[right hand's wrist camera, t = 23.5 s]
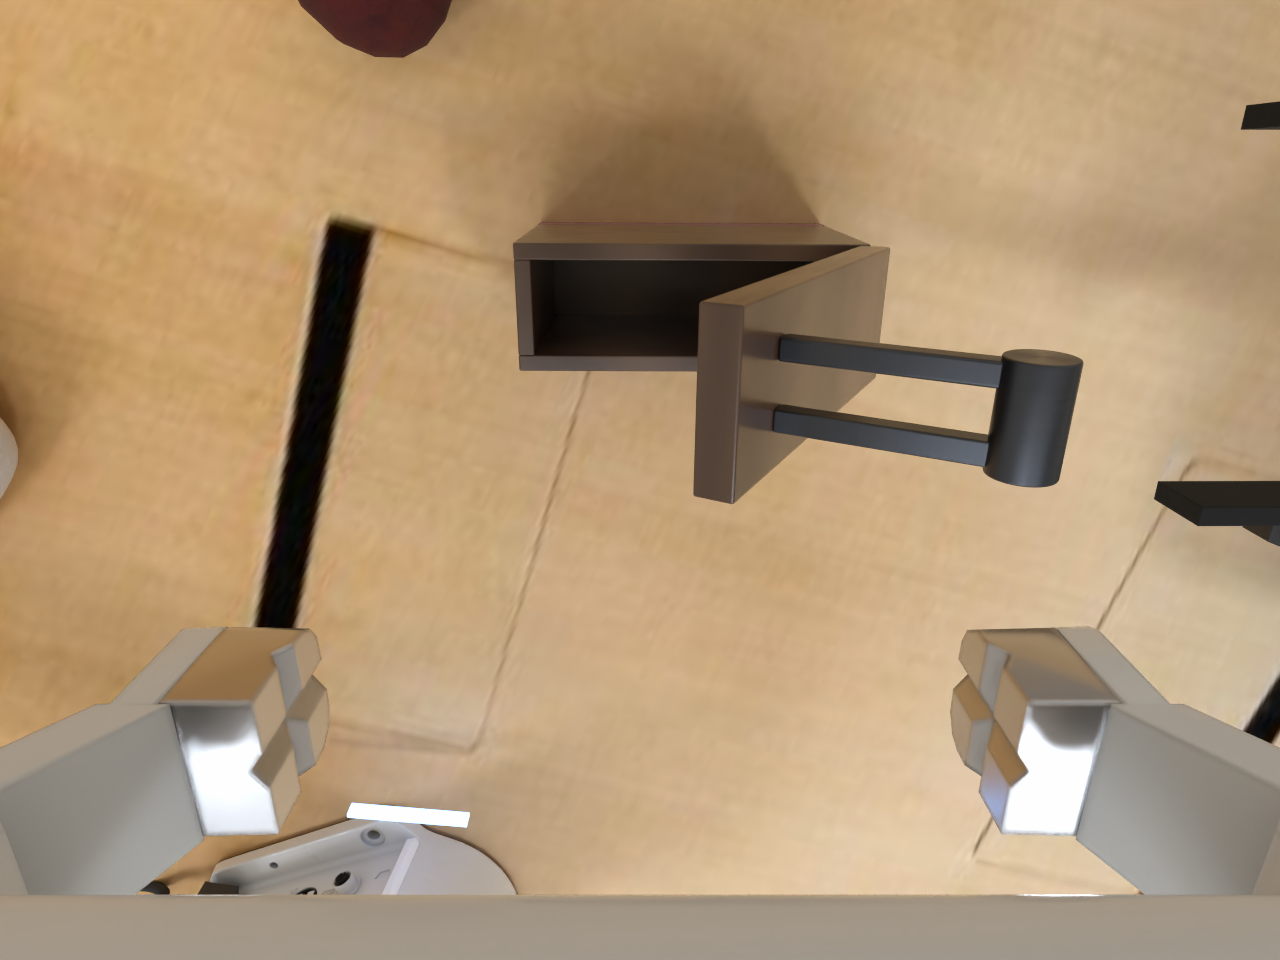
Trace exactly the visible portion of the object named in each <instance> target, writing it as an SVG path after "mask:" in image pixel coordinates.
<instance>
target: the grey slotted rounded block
mask: <svg viewBox="0 0 1280 960" xmlns="http://www.w3.org/2000/svg"><path fill="white" fill-rule="evenodd" d="M17 463H18V447H17V444H16V441H15V438H14V436H13V434H12V432H11V431H10V429H9V428H8V427H7V425H6V424H5V423H4V421H3V420H2V419H1V418H0V499H1V497H2V496H3V494H4V493H5V491H6V489H7V487H8V486H9V484H10V482H11V480H12V478H13V475H14V473H15V471H16V468H17Z"/></svg>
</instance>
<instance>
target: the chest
mask: <svg viewBox="0 0 1280 960" xmlns="http://www.w3.org/2000/svg"><path fill="white" fill-rule="evenodd" d="M859 246H870V245H869V244H867V243H864V242H862V241H859V240H857V239H855V238H852V237H850V236H847V235H845V234H842V233H840V232H837V231H835V230H832V229H830V228H828V227H825V226H824V225H822V224H731V223H540V224H539V225H538V226H536V227H535V228H534V229H532V230H531V231H530V232H528V233H527V234H525V235H524V236H523V237H521V238H520V239H519V240H517V241H516V242H514V243H513V251H514V270H515V290H516V309H517V329H518V348H519V368H520V370H521V371H697V364H698V332H699V304H700V302H701V301H704V300H707V299H710V298H713V297H716V296H718V295H721V294H724V293H727V292H730V291H733V290H736V289H739V288H741V287H744V286H747V285H750V284H753V283H756V282H759V281H762V280H764V279H767V278H770V277H773V276H776V275H779V274H782V273H785V272H788V271H790V270H793V269H796V268H799V267H802V266H805V265H808V264H811V263H813V262H816V261H819V260H822V259H825V258H828V257H831V256H834V255H836V254H839V253H842V252H845V251H848V250H851V249H854V248H857V247H859Z"/></svg>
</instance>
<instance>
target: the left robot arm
mask: <svg viewBox="0 0 1280 960" xmlns="http://www.w3.org/2000/svg"><path fill="white" fill-rule="evenodd" d="M1241 129H1252V130H1280V102H1272V103H1263V104H1255V105H1246V110H1245V114H1244V118H1243V122H1242V127H1241ZM1154 499H1155V500H1156V501H1158V502H1160V503H1161V504H1163V505H1165V506H1166V507H1168V508H1169V509H1171V510H1173V511H1174V512H1176V513H1178V514H1179V515H1181V516H1182V517H1184V518H1186V519H1187V520H1189V521H1191V522H1192V523H1194V524H1195V525H1197V526H1243V527H1244V528H1245V529H1247V530H1249V531H1251V532H1252V533H1254V534H1256V535H1258V536H1259V537H1261V538H1263V539H1265V540H1266V541H1268V542H1270V543H1273V544H1275V545H1278V546H1280V481H1158V484H1157V489H1156V493H1155V497H1154Z"/></svg>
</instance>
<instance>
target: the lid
mask: <svg viewBox="0 0 1280 960" xmlns="http://www.w3.org/2000/svg"><path fill="white" fill-rule="evenodd" d="M889 254H890V248H889V247H874V246H859V247H857V248H854V249H851V250H848V251H845V252H842V253H839V254H836V255H834V256H831V257H828V258H825V259H822V260H819V261H816V262H813V263H811V264H808V265H805V266H802V267H799V268H796V269H793V270H790V271H788V272H785V273H782V274H779V275H776V276H773V277H770V278H767V279H764V280H762V281H759V282H756V283H753V284H750V285H747V286H744V287H741V288H739V289H736V290H733V291H730V292H727V293H724V294H721V295H718V296H716V297H713V298H710V299H707V300H704V301H701V302H700V304H699V332H698V364H697V396H696V428H695V460H694V492H693V494H694V496H696V497H701V498H706V499H710V500H715V501H720V502H724V503H729V504H734V503H735V502H736V501H737V500H738V499H740V498H741V497H742V496H743V495H744V494H745V493H746V492H747V491H749V490H750V489H751V488H752V487H753V486H754V485H755V484H756V483H757V482H759V481H760V480H761V479H762V478H763V477H764V476H765V475H766V474H768V473H769V472H770V471H771V470H772V469H773V468H774V467H775V466H777V465H778V464H779V463H780V462H781V461H782V460H783V459H784V458H786V457H787V456H788V455H789V454H790V453H791V452H792V451H793V450H795V449H796V448H797V447H798V446H799V445H800V444H801V443H802V442H804V441H805V440H806V439H807V438H812V439H818V440H824V441H830V442H836V443H842V444H848V445H854V446H860V447H866V448H872V449H878V450H884V451H890V452H896V453H902V454H908V455H915V456H921V457H927V458H933V459H939V460H945V461H951V462H957V463H963V464H969V465H975V466H981V467H983V471H984V473H985V474H986V475H987V476H989V477H991V478H993V479H995V480H997V481H1000V482H1003V483H1006V484H1011V485H1015V486H1022V487H1047V486H1052V485H1054V484H1056V483H1057V482H1058V481H1059V478H1060V473H1061V468H1062V463H1063V459H1064V454H1065V449H1066V444H1067V439H1068V435H1069V430H1070V425H1071V420H1072V416H1073V411H1074V406H1075V401H1076V396H1077V392H1078V387H1079V382H1080V377H1081V373H1082V368H1083V361H1082V360H1081V359H1080V358H1078V357H1076V356H1073V355H1069V354H1065V353H1061V352H1055V351H1047V350H1036V349H1018V350H1011V351H1007V352H1004V353H1003V354H1002V356H992V355H983V354H974V353H965V352H955V351H946V350H937V349H928V348H918V347H909V346H900V345H891V344H881V343H879V342H880V333H881V324H882V315H883V307H884V298H885V289H886V280H887V271H888V263H889ZM876 373H877V374H885V375H893V376H901V377H909V378H917V379H925V380H933V381H941V382H949V383H957V384H965V385H973V386H981V387H989V388H996V393H995V399H994V405H993V411H992V417H991V422H990V428H989V434H988V435H986V434H980V433H973V432H966V431H960V430H953V429H946V428H939V427H933V426H926V425H919V424H912V423H906V422H899V421H892V420H886V419H879V418H872V417H865V416H859V415H852V414H845V413H839V412H837V411H838V410H839V409H841V408H842V407H843V406H844V405H845V404H846V403H847V402H848V401H850V400H851V399H852V398H853V397H854V396H855V395H856V394H857V393H859V392H860V391H861V390H862V389H863V388H864V387H865V386H866V385H868V384H869V383H870V382H871V381H872V380H873V379H874V378H875V377H876Z"/></svg>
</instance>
